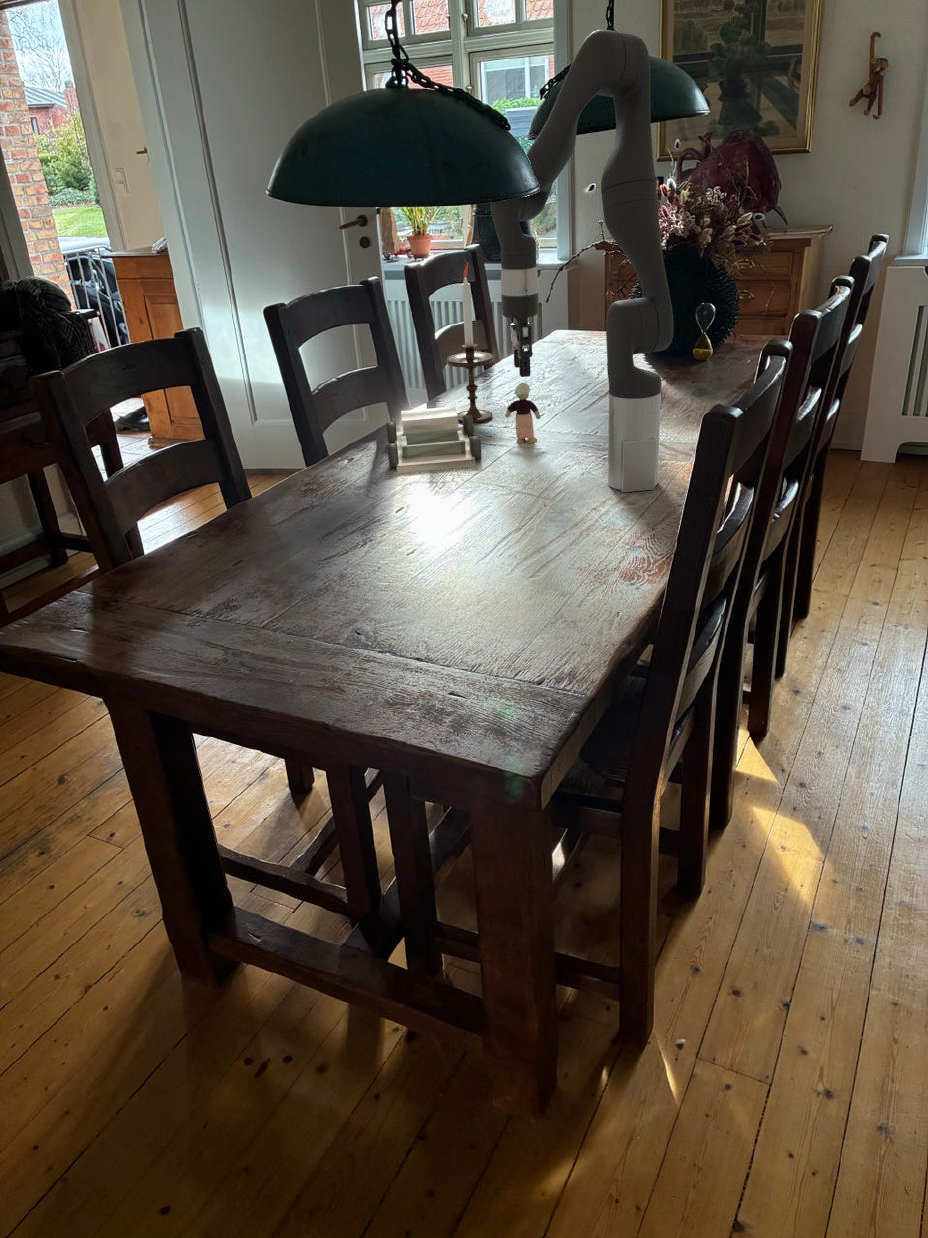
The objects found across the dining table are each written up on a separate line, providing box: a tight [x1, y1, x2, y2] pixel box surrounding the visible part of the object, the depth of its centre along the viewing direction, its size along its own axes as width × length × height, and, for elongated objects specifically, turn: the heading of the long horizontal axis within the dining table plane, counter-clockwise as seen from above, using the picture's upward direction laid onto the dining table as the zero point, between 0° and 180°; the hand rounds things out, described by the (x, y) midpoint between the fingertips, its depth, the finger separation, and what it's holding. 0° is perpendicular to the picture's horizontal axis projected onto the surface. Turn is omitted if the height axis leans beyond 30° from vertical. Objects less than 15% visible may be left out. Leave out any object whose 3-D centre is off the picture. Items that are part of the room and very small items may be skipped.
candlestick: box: [446, 261, 495, 425], centre depth 210 cm, size 11×11×35 cm
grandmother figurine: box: [504, 382, 542, 444], centre depth 197 cm, size 8×4×13 cm, turn 84°
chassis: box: [386, 406, 482, 474], centre depth 196 cm, size 24×19×6 cm
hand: (522, 371), depth 193 cm, fingers open, 8 cm apart
